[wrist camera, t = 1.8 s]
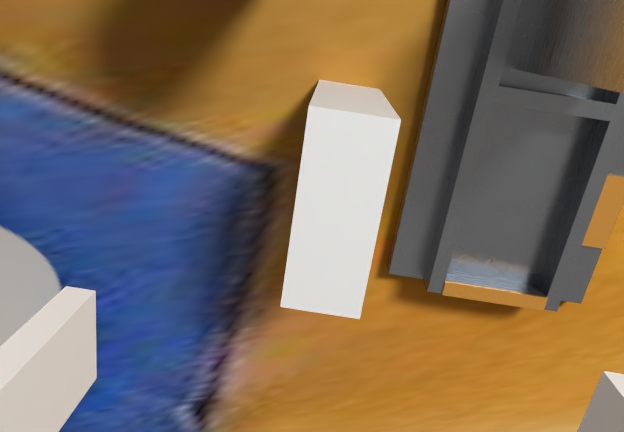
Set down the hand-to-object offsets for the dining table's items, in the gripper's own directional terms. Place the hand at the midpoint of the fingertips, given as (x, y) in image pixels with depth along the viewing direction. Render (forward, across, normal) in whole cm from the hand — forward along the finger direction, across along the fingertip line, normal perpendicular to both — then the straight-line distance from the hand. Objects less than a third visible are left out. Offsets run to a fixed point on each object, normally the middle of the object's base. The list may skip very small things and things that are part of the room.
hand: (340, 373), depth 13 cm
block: (+23, 0, 0) cm, 23 cm away
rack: (+23, +12, +6) cm, 26 cm away
